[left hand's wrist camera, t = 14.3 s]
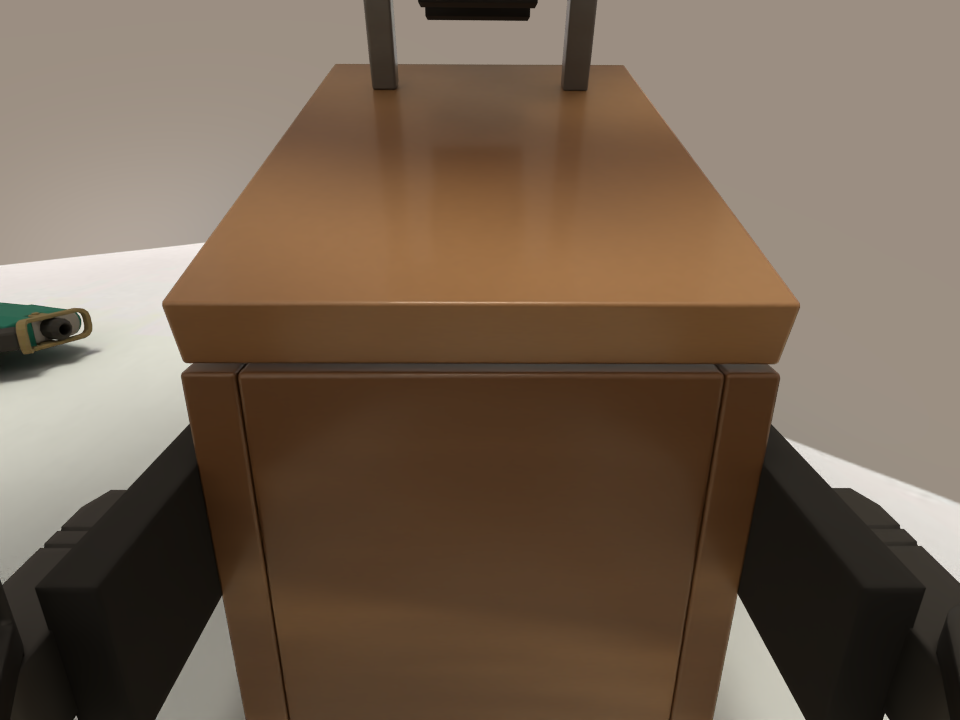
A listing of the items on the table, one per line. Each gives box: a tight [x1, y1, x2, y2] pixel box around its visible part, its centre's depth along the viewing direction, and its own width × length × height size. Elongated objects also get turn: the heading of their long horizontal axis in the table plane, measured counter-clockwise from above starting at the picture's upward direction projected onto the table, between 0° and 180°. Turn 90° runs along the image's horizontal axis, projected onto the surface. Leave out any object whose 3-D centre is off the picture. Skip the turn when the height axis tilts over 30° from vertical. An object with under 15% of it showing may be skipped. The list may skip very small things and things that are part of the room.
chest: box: [181, 363, 780, 720], centre depth 17 cm, size 13×9×10 cm
